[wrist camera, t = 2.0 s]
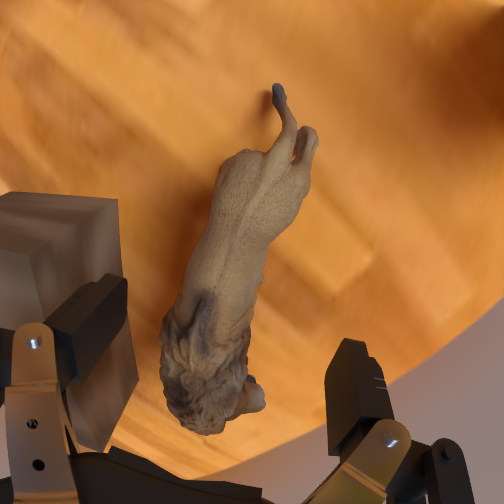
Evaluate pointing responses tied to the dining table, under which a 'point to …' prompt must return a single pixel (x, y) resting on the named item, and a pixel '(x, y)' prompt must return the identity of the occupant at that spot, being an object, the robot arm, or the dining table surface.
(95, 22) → the dining table surface
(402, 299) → the dining table surface
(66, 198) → the brown wooden block
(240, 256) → the lion figurine
